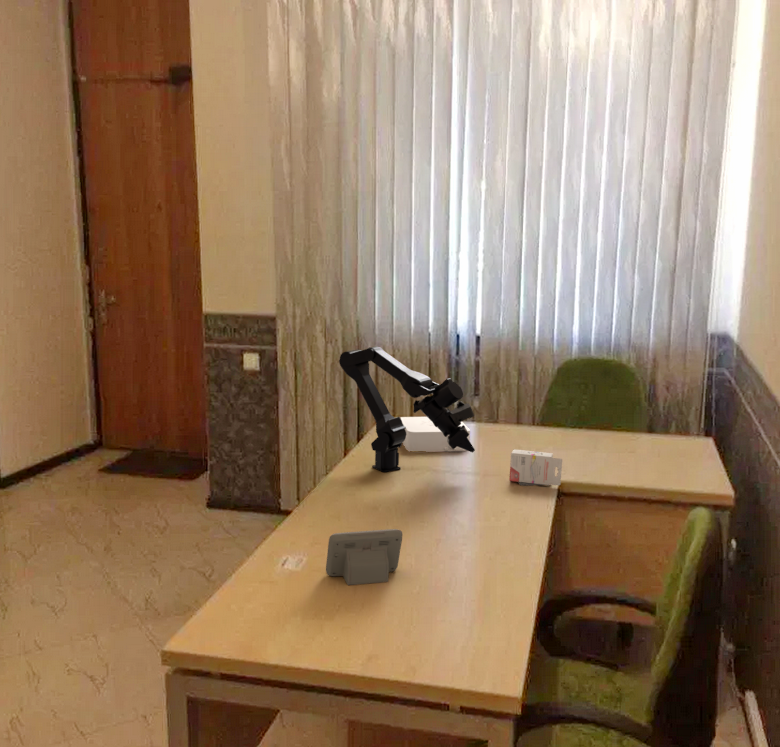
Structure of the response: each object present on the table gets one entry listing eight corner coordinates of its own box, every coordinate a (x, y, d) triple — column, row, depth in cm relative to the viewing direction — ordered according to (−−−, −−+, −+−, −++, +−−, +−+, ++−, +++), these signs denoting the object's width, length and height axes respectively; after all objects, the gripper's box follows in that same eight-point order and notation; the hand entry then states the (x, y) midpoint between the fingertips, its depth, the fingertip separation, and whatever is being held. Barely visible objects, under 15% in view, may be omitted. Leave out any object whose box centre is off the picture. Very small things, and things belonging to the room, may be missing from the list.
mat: (519, 485, 254) (520, 483, 254) (512, 473, 266) (512, 471, 266) (547, 485, 255) (547, 483, 255) (538, 473, 267) (538, 471, 266)
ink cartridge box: (511, 476, 261) (561, 482, 257) (508, 481, 256) (560, 487, 252) (513, 448, 259) (563, 454, 256) (511, 452, 255) (562, 458, 251)
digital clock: (399, 568, 194) (401, 522, 192) (402, 585, 185) (404, 537, 183) (325, 568, 193) (326, 522, 191) (325, 586, 184) (326, 537, 182)
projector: (409, 454, 285) (409, 433, 283) (397, 436, 306) (397, 417, 305) (472, 452, 288) (473, 432, 287) (455, 435, 310) (456, 416, 309)
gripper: (462, 402, 245) (499, 441, 248) (454, 388, 264) (488, 424, 267) (433, 429, 246) (470, 467, 249) (426, 413, 265) (461, 449, 268)
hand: (473, 451), depth 258 cm, fingers closed
